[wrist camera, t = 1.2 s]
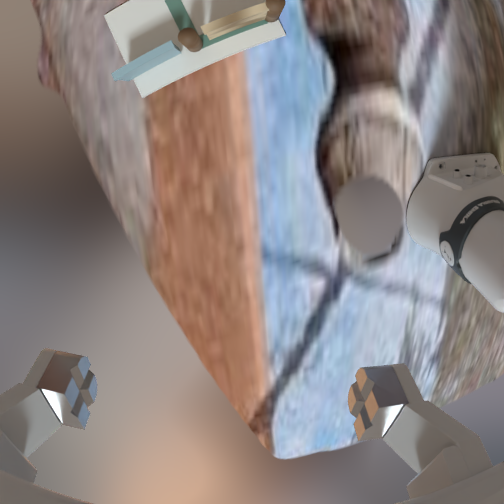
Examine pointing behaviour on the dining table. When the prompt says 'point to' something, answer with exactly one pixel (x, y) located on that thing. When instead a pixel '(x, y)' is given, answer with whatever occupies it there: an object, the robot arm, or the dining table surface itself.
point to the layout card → (171, 23)
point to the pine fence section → (232, 23)
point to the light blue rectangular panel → (147, 62)
